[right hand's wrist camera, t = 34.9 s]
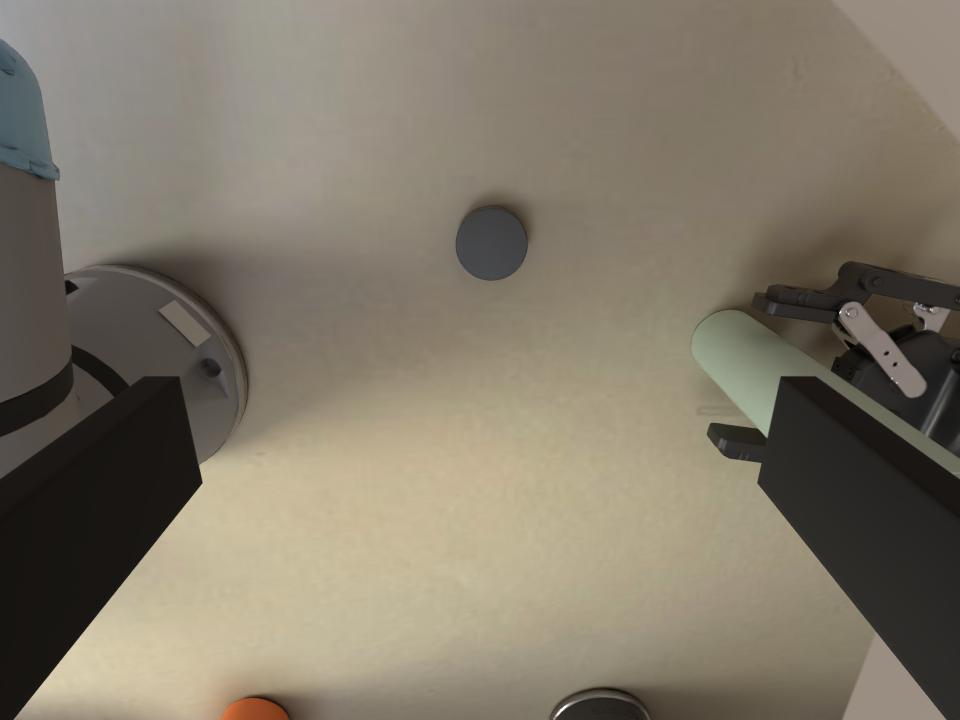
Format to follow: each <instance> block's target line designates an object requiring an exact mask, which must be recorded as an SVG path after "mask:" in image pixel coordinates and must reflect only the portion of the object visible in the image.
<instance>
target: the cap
mask: <svg viewBox="0 0 960 720" xmlns="http://www.w3.org/2000/svg"><path fill="white" fill-rule="evenodd" d="M456 252H457V255H458V258H459V261H460V262H461V264H462V265H463V267H464V268H465V269H466V270H467V271H468V272H469V273H470V274H472V275H473V276H475V277H477V278H480V279H483V280H499V279H503V278H505V277H508V276H509V275H511V274H513V273H514V272H515V271H516V270H517V269H518V268H519V267H520V266H521V264H522V262H523V261H524V258H525V256H526V253H527V236H526V233H525V230H524V227H523V225H522V223H521V221H520V220H519V219H518V217H517V216H516V215H515V214H514V213H512V212H511V211H509V210H508V209H506V208H503V207H500V206H494V205H489V206H483V207H480V208H478V209H476V210H474V211H472V212H471V213H470V214H468V215H467V216H466V217H465V219H464V220H463V222H462V223H461V225H460V228H459V230H458V234H457V238H456Z"/></svg>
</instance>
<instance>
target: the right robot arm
mask: <svg viewBox="0 0 960 720" xmlns="http://www.w3.org/2000/svg"><path fill="white" fill-rule="evenodd" d="M59 177H60V171H59V169H58V168H57V167H56V166H55V164H54V163H53V162H52V156H51V150H50V144H49V138H48V132H47V126H46V119H45V113H44V107H43V101H42V95H41V90H40V87H39V84H38V81H37V79H36V77H35V74H34V73H33V71H32V69H31V68H30V66H29V65H28V63H27V62H26V61H25V60H24V58H23V57H22V56H21V55H20V54H19V53H18V52H17V51H16V50H14V49H13V48H12V47H11V46H10V45H9V44H7V43H6V42H5V41H3V40H1V39H0V720H14V718H15V717H16V716H17V715H18V713H19V712H20V711H21V710H22V708H23V707H24V706H25V705H26V703H27V702H28V701H29V700H30V698H31V697H32V696H33V695H34V693H35V692H36V691H37V690H38V688H39V687H40V686H41V685H42V683H43V682H44V681H45V680H46V678H47V677H48V676H49V675H50V673H51V672H52V671H53V670H54V668H55V667H56V666H57V665H58V663H59V662H60V661H61V660H62V658H63V657H64V656H65V655H66V653H67V652H68V651H69V650H70V648H71V647H72V646H73V645H74V643H75V642H76V641H77V640H78V638H79V637H80V636H81V635H82V633H83V632H84V631H85V630H86V628H87V627H88V626H89V625H90V623H91V622H92V621H93V620H94V618H95V617H96V616H97V615H98V613H99V612H100V611H101V610H102V608H103V607H104V606H105V605H106V603H107V602H108V601H109V600H110V598H111V597H112V596H113V595H114V593H115V592H116V591H117V590H118V588H119V587H120V586H121V585H122V583H123V582H124V581H125V580H126V578H127V577H128V576H129V575H130V573H131V572H132V571H133V570H134V568H135V567H136V566H137V565H138V563H139V562H140V561H141V560H142V558H143V557H144V556H145V555H146V553H147V552H148V551H149V550H150V548H151V547H152V546H153V545H154V543H155V542H156V541H157V540H158V538H159V537H160V536H161V534H162V533H163V532H164V531H165V529H166V528H167V527H168V526H169V524H170V523H171V522H172V521H173V519H174V518H175V517H176V516H177V514H178V513H179V512H180V511H181V509H182V508H183V507H184V506H185V504H186V503H187V502H188V501H189V499H190V498H191V497H192V496H193V494H194V493H195V492H196V491H197V489H198V488H199V487H200V486H201V484H202V483H203V482H202V478H201V473H200V469H199V465H200V464H201V463H202V462H204V461H206V460H207V459H208V458H210V457H211V456H212V455H214V454H215V453H216V452H217V451H218V450H219V449H220V448H221V447H222V445H223V444H224V443H225V442H226V441H227V440H228V438H229V437H230V436H231V435H232V433H233V432H234V431H235V429H236V428H237V426H238V424H239V422H240V420H241V418H242V415H243V412H244V409H245V405H246V400H247V376H246V370H245V365H244V361H243V358H242V355H241V352H240V350H239V348H238V346H237V343H236V341H235V339H234V338H233V336H232V334H231V332H230V331H229V329H228V328H227V326H226V325H225V324H224V322H223V321H222V320H221V319H220V317H219V316H218V315H217V314H216V313H215V312H214V311H213V310H212V308H211V307H210V306H209V305H208V304H206V303H205V302H204V301H203V300H202V299H201V298H200V297H198V296H197V295H196V294H194V293H193V292H192V291H190V290H189V289H187V288H186V287H184V286H182V285H181V284H179V283H177V282H175V281H173V280H172V279H170V278H168V277H165V276H163V275H160V274H158V273H155V272H152V271H149V270H146V269H142V268H137V267H132V266H125V265H98V266H92V267H87V268H84V269H80V270H77V271H74V272H71V273H68V274H65V275H64V271H63V261H62V251H61V241H60V231H59V221H58V212H57V202H56V192H55V180H58V181H59ZM757 483H758V484H759V486H760V487H761V488H762V489H763V491H764V492H765V493H766V494H767V496H768V497H769V498H770V499H771V501H772V502H773V503H774V504H775V506H776V507H777V508H778V509H779V511H780V512H781V513H782V514H783V516H784V517H785V518H786V519H787V521H788V522H789V523H790V524H791V526H792V527H793V528H794V529H795V531H796V532H797V533H798V535H799V536H800V537H801V538H802V540H803V541H804V542H805V543H806V545H807V546H808V547H809V548H810V550H811V551H812V552H813V553H814V555H815V556H816V557H817V558H818V560H819V561H820V562H821V563H822V565H823V566H824V567H825V568H826V570H827V571H828V572H829V573H830V575H831V576H832V577H833V578H834V580H835V581H836V582H837V583H838V585H839V586H840V587H841V588H842V590H843V591H844V592H845V593H846V595H847V596H848V597H849V598H850V600H851V601H852V602H853V603H854V605H855V606H856V607H857V608H858V610H859V611H860V612H861V613H862V615H863V616H864V617H865V618H866V620H867V621H868V622H869V623H870V625H871V626H872V627H873V628H874V630H875V631H876V632H877V633H878V635H879V636H880V637H881V638H882V640H883V641H884V642H885V643H886V645H887V646H888V647H889V648H890V649H891V651H892V652H893V653H894V654H895V656H896V657H897V658H898V659H899V661H900V662H901V663H902V665H903V666H904V667H905V668H906V670H907V671H908V672H909V673H910V675H911V676H912V677H913V678H914V680H915V681H916V682H917V683H918V685H919V686H920V687H921V688H922V690H923V691H924V692H925V693H926V695H927V696H928V697H929V698H930V699H931V701H932V702H933V703H934V705H935V706H936V707H937V708H938V710H939V711H940V712H941V713H942V715H943V716H944V717H945V718H946V720H960V479H959V478H958V477H956V476H955V475H953V474H952V473H951V472H949V471H948V470H946V469H945V468H944V467H942V466H941V465H939V464H938V463H937V462H935V461H934V460H932V459H931V458H930V457H928V456H927V455H925V454H924V453H923V452H921V451H920V450H918V449H917V448H916V447H914V446H913V445H911V444H910V443H909V442H907V441H906V440H904V439H903V438H902V437H900V436H899V435H897V434H896V433H895V432H893V431H892V430H890V429H889V428H888V427H886V426H885V425H883V424H882V423H881V422H879V421H878V420H876V419H875V418H874V417H872V416H871V415H869V414H868V413H867V412H865V411H864V410H862V409H861V408H860V407H858V406H857V405H855V404H854V403H853V402H851V401H850V400H848V399H847V398H846V397H844V396H843V395H841V394H840V393H839V392H837V391H836V390H834V389H833V388H832V387H830V386H829V385H827V384H826V383H825V382H823V381H822V380H820V379H819V378H818V377H816V376H781V377H780V382H779V386H778V391H777V395H776V400H775V404H774V409H773V414H772V418H771V423H770V427H769V432H768V437H767V441H766V446H765V450H764V455H763V459H762V464H761V469H760V473H759V478H758V482H757Z"/></svg>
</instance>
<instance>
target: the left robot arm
mask: <svg viewBox="0 0 960 720" xmlns="http://www.w3.org/2000/svg"><path fill="white" fill-rule="evenodd" d="M838 276H839V278H838V280H837V281H836V282H835V283H834V285H832V286H831V287H830V288H828V289H826V290H814V289H807V288H800V287H794V286H787V285H781V284H777V285H772V286H768V289H767V292H766V294H765V293H755V295H754V298H753V301H752V304H751V305H752V306H754V307H755V308H757V309H759V310H760V311H762V312H764V313H766V314H770V315H775V316H781V317H788V318H795V319H801V320H808V321H815V322H822V323H828V324H831V326H832V327H831V329H832V330H833V332H834V333H835V334H836V335H837V337H838V338H839V339H840V340H841V341H842V343H843V344H844V345H845V346H846V348H847V349H848V351H846V352H845V353H844V354H843V355H842V356H841V357H836V358H835V360H834V363H833V365H832V368H831V372H833V373H834V374H836V375H837V376H839V377H840V378H842V379H843V380H845V381H846V382H848V383H849V384H850V385H852V386H853V387H855V388H856V389H858V390H859V391H861V392H862V393H864V394H865V395H867V396H868V397H870V398H871V399H873V400H874V401H875V402H877V403H878V404H880V405H881V406H883V407H884V408H886V409H887V410H889V411H890V412H892V413H893V414H895V415H896V416H898V417H899V418H900V419H902V420H903V421H905V422H906V423H908V424H909V425H911V426H912V427H914V428H915V429H917V430H918V431H920V432H921V433H923V434H924V435H925V436H927V437H928V438H930V439H931V440H933V441H934V442H936V443H937V444H939V445H940V446H942V447H943V448H945V449H946V450H948V451H949V452H950V453H952V454H953V455H955V456H956V457H958V458H959V459H960V340H956V339H950V338H943V337H942V336H941V335H940V334H939V332H940V330H941V328H942V326H943V324H944V323H945V321H946V319H947V317H948V315H949V313H950V311H951V310H955V311H960V287H959V286H956V285H953V284H950V283H946V282H943V281H940V280H937V279H934V278H929V277H925V276H920V275H915V274H911V273H906V272H901V271H897V270H892V269H887V268H883V267H878V266H873V265H869V264H864V263H859V262H855V261H849V262H846V263H845V264H843V265H842V266H841V267H840V269H839V272H838ZM872 293H874V294H879V295H884V296H888V297H893V298H898V299H901V302H902V303H903V308H904V310H905V311H907V312H910V313H911V314H912V315H913V317H914V322H913V324H909V325H904V326H901V327H899V328H897V329H894V330H892V331H890V332H887V333H886V332H885V331H883V330H882V329H881V328H880V327H878V326H877V324H876V323H875V322H874V321H873V319H872V318H871V317H870V315H869V314H868V313H867V312H866V310H865V309H864V308H863V306H862V305H863V304H864V303H865V302H866V301H867V299H868V298H869V297H870V296H871V295H872ZM707 436H708V437H709V438H710V440H711V441H712V442H713V444H714V445H715V446H716V447H717V448H718V449H719V451H720V452H721V453H722V455H724V456H726V457H728V458H730V459H737V460H738V459H739V460H746V461H752V462H759V463H762V459H763V455H764V450H765V446H766V441H767V438H766V436H765V435H764V434H763V433H762V432H761V431H760V430H759V429H755V428H748V427H741V426H733V425H726V424H719V423H710V426H709V428H708V431H707ZM550 720H650V717H649V714H648V711H647V710H646V708H645V707H644V705H643V704H642V703H641V702H640V701H638V700H637V699H636V698H634V697H632V696H630V695H628V694H626V693H622V692H619V691H614V690H591V691H586V692H582V693H579V694H576V695H574V696H572V697H570V698H568V699H566V700H565V701H563V702H562V703H561V704H560V705H559V706H558V707H557V708H556V709H555V710H554V712H553V713H552V715H551V718H550Z"/></svg>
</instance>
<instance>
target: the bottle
mask: <svg viewBox="0 0 960 720" xmlns="http://www.w3.org/2000/svg"><path fill="white" fill-rule="evenodd" d="M691 351H692V355H693V357H694V359H695V361H696V362H697V363H698V364H699V366H700V367H701V368H702V369H703V370H704V371H705V372H706V373H707V374H708V375H709V376H710V377H711V378H712V380H713V381H714V382H715V383H716V384H717V385H718V386H719V387H720V388H721V389H722V390H723V391H724V392H725V393H726V395H727V396H728V397H729V398H730V399H731V400H732V401H733V402H734V403H735V404H736V405H737V406H738V407H739V409H740V410H741V411H742V412H743V413H744V414H745V415H746V416H747V417H748V418H749V419H750V420H751V421H752V423H753V424H754V425H755V426H756V427H757V428H758V429H759V430H760V431H761V432H762V433H763V434H764V435H765V436H766V438H767V437H768V432H769V427H770V423H771V418H772V414H773V409H774V404H775V400H776V395H777V391H778V386H779V382H780V377H781V376H816V377H818V378H819V379H820V380H822V381H823V382H825V383H826V384H827V385H829V386H830V387H832V388H833V389H834V390H836V391H837V392H839V393H840V394H841V395H843V396H844V397H846V398H847V399H848V400H850V401H851V402H853V403H854V404H855V405H857V406H858V407H860V408H861V409H862V410H864V411H865V412H867V413H868V414H869V415H871V416H872V417H874V418H875V419H876V420H878V421H879V422H881V423H882V424H883V425H885V426H886V427H888V428H889V429H890V430H892V431H893V432H895V433H896V434H897V435H899V436H900V437H902V438H903V439H904V440H906V441H907V442H909V443H910V444H911V445H913V446H914V447H916V448H917V449H918V450H920V451H921V452H923V453H924V454H925V455H927V456H928V457H930V458H931V459H932V460H934V461H935V462H937V463H938V464H939V465H941V466H942V467H944V468H945V469H946V470H948V471H949V472H951V473H952V474H953V475H955V476H956V477H958V478H959V479H960V459H959V458H958V457H956V456H955V455H953V454H952V453H950V452H949V451H948V450H946V449H945V448H943V447H942V446H940V445H939V444H937V443H936V442H934V441H933V440H931V439H930V438H928V437H927V436H925V435H924V434H923V433H921V432H920V431H918V430H917V429H915V428H914V427H912V426H911V425H909V424H908V423H906V422H905V421H903V420H902V419H900V418H899V417H898V416H896V415H895V414H893V413H892V412H890V411H889V410H887V409H886V408H884V407H883V406H881V405H880V404H878V403H877V402H875V401H874V400H873V399H871V398H870V397H868V396H867V395H865V394H864V393H862V392H861V391H859V390H858V389H856V388H855V387H853V386H852V385H850V384H849V383H848V382H846V381H845V380H843V379H842V378H840V377H839V376H837V375H836V374H834V373H833V372H831V371H830V370H828V369H827V368H825V367H824V366H823V365H821V364H820V363H818V362H817V361H815V360H814V359H812V358H811V357H809V356H808V355H806V354H805V353H803V352H802V351H800V350H799V349H798V348H796V347H795V346H793V345H792V344H790V343H789V342H787V341H786V340H784V339H783V338H781V337H780V336H778V335H777V334H775V333H774V332H773V331H771V330H770V329H768V328H767V327H765V326H764V325H762V324H761V323H759V322H758V321H756V320H755V319H753V318H752V317H750V316H749V315H748V314H746V313H744V312H741V311H738V310H723V311H719V312H716V313H714V314H712V315H710V316H709V317H707V318H706V319H704V320H703V321H702V322H701V323H700V325H699V326H698V327H697V329H696V330H695V332H694V334H693V337H692V342H691Z"/></svg>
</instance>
